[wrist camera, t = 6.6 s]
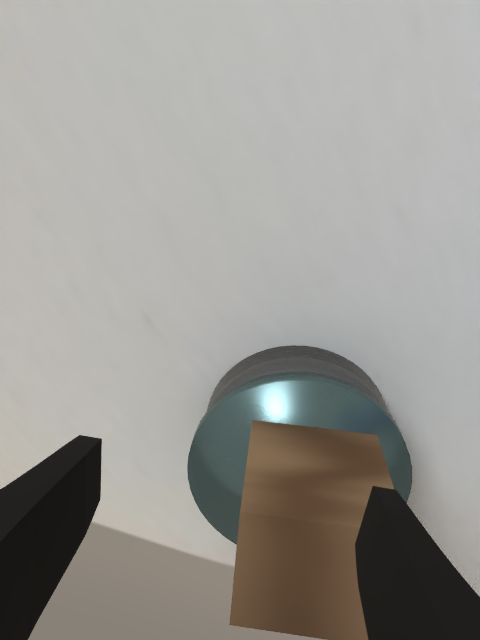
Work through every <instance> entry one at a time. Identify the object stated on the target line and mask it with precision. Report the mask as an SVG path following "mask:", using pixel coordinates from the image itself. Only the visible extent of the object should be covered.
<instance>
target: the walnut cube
mask: <svg viewBox="0 0 480 640" xmlns="http://www.w3.org/2000/svg"><path fill="white" fill-rule="evenodd" d="M372 486H377V487H383V488H389V489H394V487H393V484H392V480H391V477H390V474H389V471H388V468H387V464H386V461H385V458H384V455H383V451H382V448H381V445H380V442H379V438H378V435H376V434H368V433H359V432H351V431H342V430H334V429H325V428H317V427H308V426H300V425H291V424H283V423H274V422H266V421H257V420H252V426H251V433H250V441H249V449H248V456H247V464H246V471H245V479H244V486H243V494H242V501H241V509H240V518H239V529H238V540H237V551H236V562H235V573H234V583H233V595H232V605H231V615H230V625H234V626H240V627H247V628H254V629H260V630H267V631H274V632H281V633H287V634H294V635H300V636H308V637H314V638H321V639H327V640H368V635H367V630H366V625H365V620H364V615H363V609H362V604H361V599H360V594H359V588H358V580H357V568H356V554H355V542H356V539H357V536H358V532H359V529H360V526H361V523H362V519H363V516H364V513H365V509H366V506H367V503H368V499H369V496H370V493H371V490H372Z"/></svg>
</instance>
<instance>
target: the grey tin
mask: <svg viewBox="0 0 480 640" xmlns="http://www.w3.org/2000/svg"><path fill="white" fill-rule="evenodd" d="M252 420H257V421H266V422H274V423H283V424H291V425H300V426H308V427H317V428H325V429H334V430H342V431H351V432H359V433H368V434H376V435H378V438H379V442H380V445H381V448H382V451H383V455H384V458H385V461H386V464H387V468H388V471H389V474H390V477H391V480H392V484H393V487H394V490H397V491H398V493H399V494H400V495H401V497H402V498H403V500H404V501H405V502H406V503H407V500H408V497H409V494H410V490H411V483H412V466H411V460H410V455H409V452H408V450H407V447H406V444H405V441H404V439H403V436H402V434H401V431H400V430H399V428H398V426H397V424H396V422H395V420H394V419H393V418H392V417H391V415H390V414H389V413H388V411H387V408H386V406H385V403H384V400H383V398H382V395H381V394H380V392H379V390H378V388H377V386H376V385H375V384H374V382H373V381H372V380H371V378H370V377H369V376H368V375H367V374H366V373H365V372H364V371H363V370H362V369H361V368H359V367H358V366H357V365H355V364H354V363H353V362H351V361H349V360H347V359H346V358H344V357H342V356H340V355H338V354H335V353H333V352H330V351H327V350H324V349H320V348H315V347H309V346H282V347H276V348H271V349H267V350H264V351H261V352H258V353H255V354H253V355H251V356H249V357H247V358H245V359H244V360H242V361H241V362H239V363H238V364H236V365H235V366H234V367H233V368H232V369H230V370H229V371H228V372H227V373H226V374H225V376H224V377H223V378H222V379H221V380H220V382H219V383H218V385H217V386H216V388H215V390H214V392H213V394H212V397H211V399H210V402H209V405H208V409H207V412H206V414H205V415H204V417H203V418H202V420H201V421H200V423H199V426H198V428H197V430H196V432H195V435H194V438H193V441H192V445H191V448H190V452H189V457H188V480H189V484H190V489H191V492H192V495H193V497H194V500H195V502H196V504H197V506H198V507H199V509H200V511H201V512H202V514H203V515H204V516H205V518H206V519H207V520H208V522H209V523H210V524H211V525H212V526H213V527H214V528H215V529H216V530H217V531H219V532H220V533H221V534H222V535H223V536H225V537H226V538H227V539H229V540H230V541H232V542H233V543H235V544H237V540H238V529H239V518H240V509H241V501H242V494H243V486H244V479H245V471H246V464H247V456H248V449H249V441H250V433H251V426H252Z"/></svg>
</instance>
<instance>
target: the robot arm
mask: <svg viewBox="0 0 480 640" xmlns="http://www.w3.org/2000/svg"><path fill="white" fill-rule="evenodd" d="M101 445H102V439H99V438H93V437H88V436H82V435H79V436H77V437H76V438H75V439H73V440H72V441H70V442H69V443H67V444H66V445H64V446H63V447H62V448H60V449H59V450H57V451H56V452H55V453H53V454H52V455H50V456H49V457H48V458H46V459H45V460H43V461H42V462H40V463H39V464H38V465H36V466H35V467H33V468H32V469H30V470H29V471H27V472H26V473H25V474H23V475H22V476H20V477H19V478H17V479H16V480H14V481H13V482H11V483H10V484H8V485H7V486H5V487H3V488H2V489H0V640H28V638H29V636H30V634H31V632H32V630H33V628H34V626H35V624H36V623H37V621H38V619H39V617H40V615H41V613H42V612H43V610H44V608H45V606H46V605H47V603H48V601H49V599H50V598H51V596H52V594H53V592H54V590H55V589H56V587H57V585H58V583H59V581H60V580H61V578H62V576H63V574H64V573H65V571H66V569H67V567H68V566H69V564H70V562H71V560H72V558H73V556H74V555H75V553H76V551H77V549H78V548H79V546H80V544H81V542H82V540H83V539H84V537H85V535H86V532H87V530H88V528H89V525H90V523H91V521H92V518H93V516H94V513H95V511H96V508H97V506H98V503H99V501H100V490H101ZM355 554H356V568H357V580H358V588H359V594H360V599H361V604H362V609H363V615H364V620H365V625H366V630H367V635H368V640H480V597H479V596H478V595H477V593H476V592H475V591H474V590H473V589H472V588H471V586H470V585H469V584H468V583H467V582H466V581H465V579H464V578H463V577H462V576H461V575H460V573H459V572H458V571H457V570H456V569H455V567H454V566H453V565H452V564H451V562H450V561H449V560H448V559H447V557H446V556H445V555H444V553H443V552H442V551H441V550H440V548H439V547H438V546H437V544H436V543H435V542H434V540H433V539H432V538H431V536H430V535H429V534H428V532H427V531H426V530H425V528H424V527H423V526H422V524H421V523H420V522H419V520H418V519H417V517H416V516H415V515H414V513H413V512H412V511H411V509H410V508H409V506H408V505H407V504H406V502H405V501H404V500H403V498H402V497H401V495H400V494H399V493H398V491H397V490H394V489H389V488H383V487H377V486H372V490H371V493H370V496H369V499H368V503H367V506H366V509H365V513H364V516H363V519H362V523H361V526H360V529H359V532H358V536H357V539H356V542H355Z"/></svg>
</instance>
